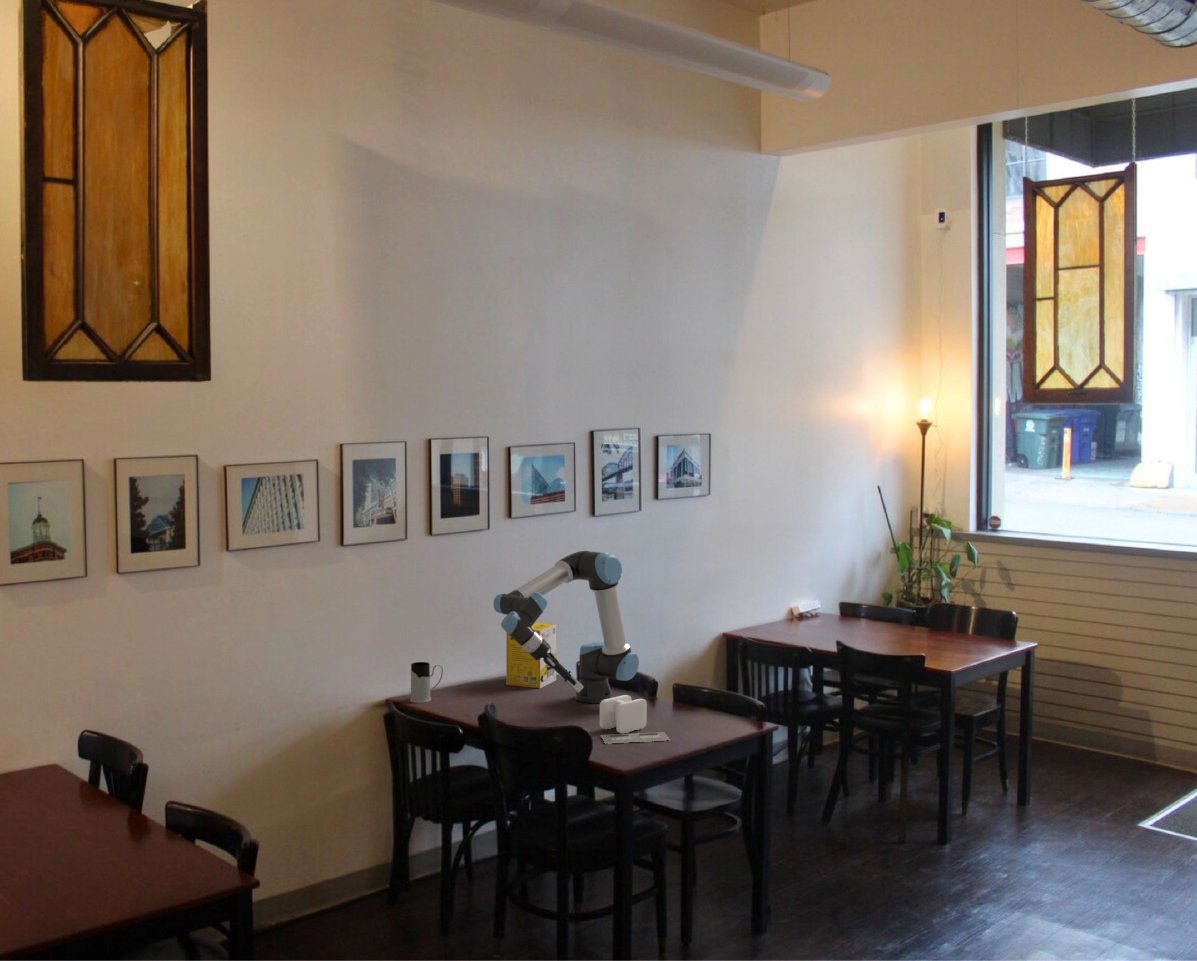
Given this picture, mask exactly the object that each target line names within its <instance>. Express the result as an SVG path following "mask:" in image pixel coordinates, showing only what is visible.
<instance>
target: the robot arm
mask: <svg viewBox="0 0 1197 961" xmlns="http://www.w3.org/2000/svg"><path fill="white" fill-rule="evenodd" d="M622 573H623V567H622V563H621V560H620V559H619V558H618V557H617V556H615V555H614V554H611V553H608V552H599V551H598V552H597V551H588V550H579V551H576V552H573V553H571V554H569V555H566V556H565V557H563V558H561V559H559V560H558V561H556V562H555V564H554V565H553V566H552V567H550V568H549V569H548V570H545V571H544V572H543V573H540V574H539V575H537V576H536V577H534V578H532V579H531V580H529V581H528V582H526V583H524V584H522V585H521V586H519V587H517V588H516V589H514V590H512V591H511V592H509V593H504V592H503V593H499V594H497V595H496V596H495V597H494V599H493V601H492V602H493V604H492V605H493V608H494V610H495V612H496V613H498V614H499V613H500V614H502V615H506V616H504V618H503V619H502V621H501V622H500V626H501V628H502V629H503V630H504V631H505V633H506V632H507V634H508V635H510V636H511V637H512V638H513V639H514V640H515V641H516V642H517V643H519V645H521V646H522V650H524V649H525V650H526V651H527V652H528V653H530V655H531V656H532V657H533V658H534V659H535V660H539V659H541V658H544V659H543V661H544V662H545V663H546V664H547V665H549V666H550V667H551V668H552V669H554V670H555V671H556V674H558V675H559V676H561V677H562V678H563V679H564V680H563V682H564V683H566V682H567V683H568V684H569V685H570V686H572V688H573V689H574V690H575V694H574V695H575V696H574V697H575V700H576V701H577V700H578V702H581V703H585V702H586V703H587V704H600V703H601V701H602V700H605V699H609V698H613V692H612V689H611V687H610V686H611V685H610V683H609V678H610V679H614V680H618V681H625V682H626V681H629V680H631V679H633V678H634V677H635V675H636V674H637V672H638V669H639V665H640V659H639V656H638V654H637V653H635V652H632V649H631V645H630V643H629V642H628V641H626V638H625V631H624V626H623V620H622V616H621V611H620V610H621V608H620V606H619V600H618V599H619V598H618V594H617V589H616V587H618V585H619V581H620V580H621V577H622ZM575 580H577V581H578V580H583V581H587V582H588V585H589V589H590V591H592V592H593V593H594V596H595V602H596V607H597V614H598V618H599V624H600V629H601V633H602V638H603V642H599V641H598V642H591V643H586V644H583V645H581V646H580V648H579V654H578V655H579V681H578V679H577V678H575V677H574V676H573V675H572V674H571V673H572V672H571V671H570V670H569V671H568V669H566V668H565V667H564V666H563V665H562V664H561V663H560V662H559V660H558V659H557V657H556V658H555V657H554V656H553V654H552V653H551V652H550V653H548V652H547V651H548V650H549V649H550V645H549V644H548V643H547V642H546V641H545V640H542V637H541V636H540V635H539V634H538V633H537V632H536V631H535V630H534V629H533V628H532V625H533V624H534V623H536V621H537V620H538V619H539V618H540V616H541V615H542V614H543V613H544V612H545V609H546V608H547V607H548V604H549V603H548V600H547V599H546V597H545V596H544V595H546V594H548V593H550V592H551V591H553V590H554V589H556V588H558V587H560V586H561V585H563V584H569V583H571V582H573V581H575ZM586 703H585V704H586Z"/></svg>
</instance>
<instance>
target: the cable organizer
mask: <svg viewBox="0 0 1197 961" xmlns="http://www.w3.org/2000/svg"><path fill="white" fill-rule="evenodd" d="M647 708H648V707H647V700H646V699H644V698H637V699H632V697H631V695H627V694H623V695H619V696H614V697H613V696H612V698H609V699H605V700H602V701H601V703H599V727H600V728H601V729H603V730H607V729H609V730H612V729H611V728H613V729H614V728H615V729H616V732H617V733H618V734H624V733H626V734H630V732H635V731H634V730H638V731H640V730H639V729H641V730H642V729H644V728H645V727H646V726H647Z"/></svg>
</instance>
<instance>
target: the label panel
mask: <svg viewBox="0 0 1197 961" xmlns="http://www.w3.org/2000/svg"><path fill="white" fill-rule="evenodd" d="M599 737H600V739H601V738H602V739H603V740H602V739H601V740H602V742H603V741H604V742H603V743H605V744H604V745H613V744H612V743H624V744H630V743H629V742H644V743H655V742H654V741H664V742H667V741H666V740H669V741H668V742H671V739H670V737H669V736H668V735H667V734H666V732H665V731H661V732H659V731H658V732H657V731H656V732H637V733H636V732H635V733H626V734H622V733H617V734H600V735H599ZM652 741H653V742H652ZM606 743H608V744H606Z"/></svg>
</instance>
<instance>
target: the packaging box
mask: <svg viewBox="0 0 1197 961" xmlns="http://www.w3.org/2000/svg"><path fill="white" fill-rule="evenodd" d="M532 628H533V629H534V630H535V631H536V632H537V633H538V634H539V635H540V636H541V637H542V640H545V641H546V642H547V643H548V644H549V645H550V649H549V650H548V651H547V652H548V653H550V652H551V653H552V654H553V656H554V657H555V658H556V659H557V624H553V623H546V622H535V623H534V624H533V625H532ZM505 635H506V638H505V639H506V643H505V644H506V657H505V658H506V659H505V660H506V662H505V663H506V664H505V665H506V685H507V686H516V687H523V688H524V687H525V688H532V689H542V688H543V687H544V688H545V687H546V686H547V685H549V684H551V683H554V682H556V681H557V672H556V671H555V670H554V669H552V668H551V667H550V666H549V665H547V664H546V663H545V662H544V661H543V659H544V658H541V659H539V660H535V659H534V658H533V657H532V656H531V655H530V653H528V652H527V651H526V650H525V649H524V650H522V646H521V645H519V643H517V642H516V641H515V640H514V639H513V638H512V637H511V636H510V635H508V634H507V632H506V631H505Z"/></svg>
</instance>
